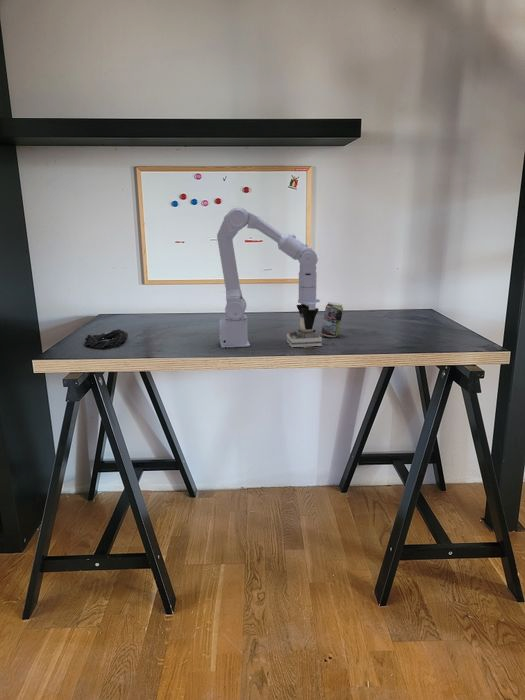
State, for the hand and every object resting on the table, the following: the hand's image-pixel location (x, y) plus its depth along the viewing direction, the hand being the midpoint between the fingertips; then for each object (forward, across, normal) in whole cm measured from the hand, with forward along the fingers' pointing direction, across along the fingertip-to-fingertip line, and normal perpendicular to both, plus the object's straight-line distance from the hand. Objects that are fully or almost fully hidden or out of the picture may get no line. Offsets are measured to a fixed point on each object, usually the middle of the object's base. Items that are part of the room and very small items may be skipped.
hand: (307, 327), depth 170 cm
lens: (+2, 0, 0) cm, 2 cm away
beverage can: (+6, +9, -11) cm, 15 cm away
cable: (+6, +14, +67) cm, 69 cm away
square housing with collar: (+6, 0, +1) cm, 6 cm away
